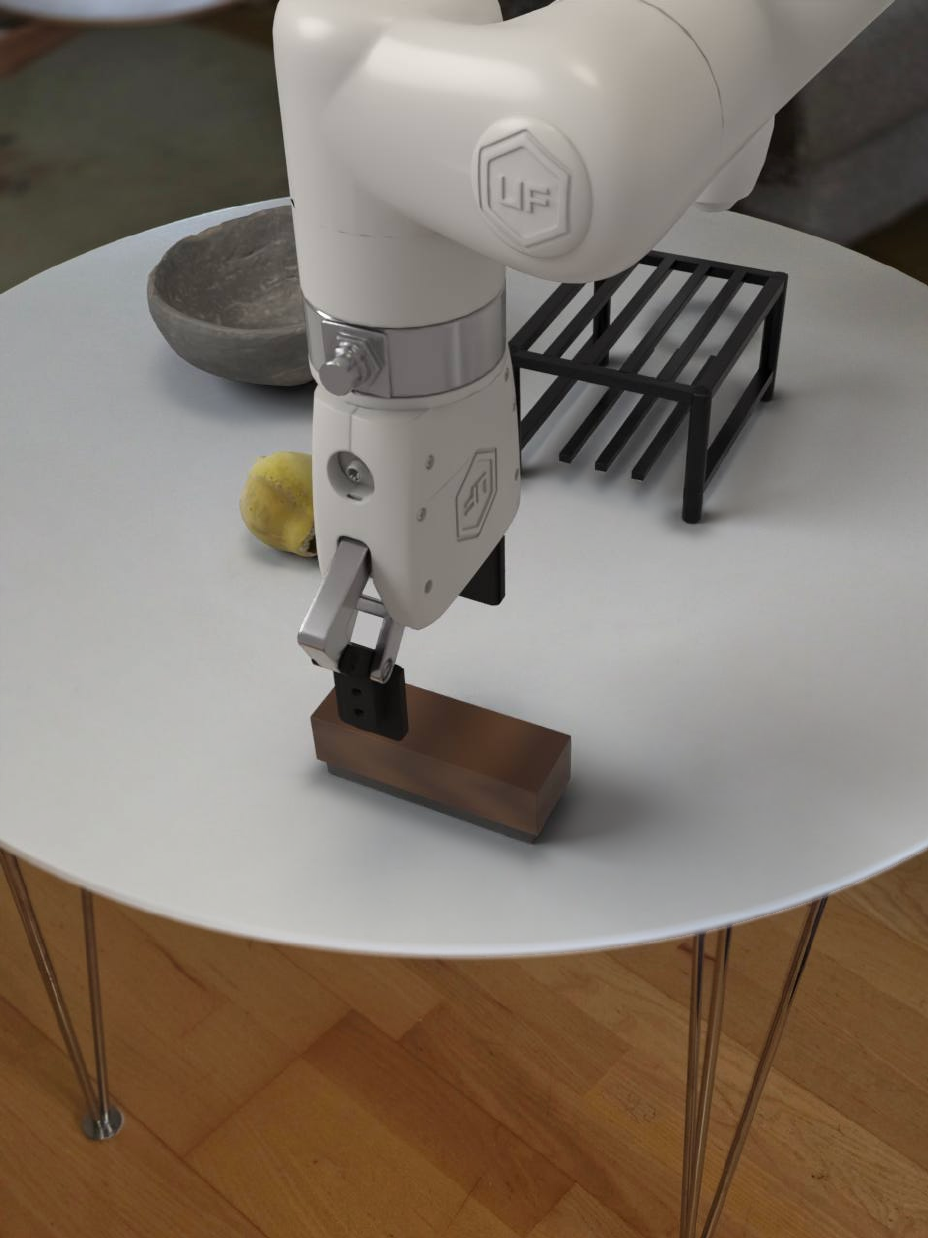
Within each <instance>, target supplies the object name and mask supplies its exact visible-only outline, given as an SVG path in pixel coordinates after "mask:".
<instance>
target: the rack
mask: <svg viewBox="0 0 928 1238" xmlns="http://www.w3.org/2000/svg"><path fill="white" fill-rule="evenodd" d="M639 265H644V266H649V267H655V269H654V270H653V272H652V273H651V274H650V275H649V277H648V278H647V279H646V280H645V281H644V283H643V284H642V285H641V287H639V289H638V290H637V291H636V292H635V294H634V295H633V296H632V298H631V299H630V300H629V301H628V302H627V304H626V305H625V306H624V307H623V308H622V310H621V311H620V312H619V314H618V315H617V316H616V317H615V318H614V320H613V321H611V311H612V297H613V296H614V294H615V293H616V292H617V291H618V290H619V288H620V287H621V286H622V285H623V284H624V282H625V281H626V280H627V279H628V278H629V276H631V274H632V273H633V272H634V271H635V270H636V268H637V267H638V266H639ZM673 271H677V272H682V273H688V274H691V275H690V276H689V277H688V279H687V280H686V281H685V283H684V284H683V285H682V287H680V289H679V290H678V291H677V293H676V294H675V295H674V297H673V298H672V300H671V301H670V302H669V304H668V305H667V306H666V307H665V309H664V310H663V311H662V313H661V314H660V315H659V316H658V318H657V319H656V320H655V321H654V323H653V324H652V325H651V327H650V328H649V330H648V331H647V332H646V333H645V335H644V336H643V338H642V339H641V340H640V341H639V343H638V344H637V345H636V346H635V348H634V349H633V350H632V351H631V353H630V354H629V355H628V357H627V358H626V360H624V362H623V363H622V364H621V366H620V367H619V368H618V369H616V368H610V367H607V365H609V363H610V351H611V350H612V348H613V347H614V346H615V344H617V342H618V341H619V339H621V337H622V335H623V334H624V333H625V332H626V331H627V330H628V329H629V327H630V326H631V324H632V323H633V322H634V320H635V319H636V318H637V317H638V316H639V314H640V313H641V312H642V311H643V309H644V308H645V306H646V305H647V304H648V303H649V302H650V300H651V299H652V298H653V297H654V295H655V294H656V293H657V291H658V290H659V289H660V288H661V286H662V285H663V284H664V283H665V282H666V280H667V279H668V277H669V276H670V275H671V274H672V273H673ZM709 277H711V278H716V279H722V280H727V281H726V282H725V284H724V285H723V286H722V288H721V289H720V291H719V292H718V293H717V294H716V296H715V297H714V299H713V300H712V302H711V303H710V305H708V307H707V309H706V310H705V312H704V313H703V314H702V315H701V316H700V318H699V320H698V321H697V323H696V324H695V325H694V327H693V328H692V330H691V331H690V332H689V333H688V335H687V337H686V338H685V339H684V340H683V342H682V343H681V345H680V346H679V348H678V347H677V348H676V349H675V351H674V352H673V353H672V355H671V357H669V359H668V361H667V362H666V363H665V365H664V366H663V367H662V369H660V371H659V373H658V374H657V375H656V377H654V376H650V375H649V376H648V375H644V374H639V372H640V371H641V369H643V367H644V366H645V364H646V363H647V362H648V360H649V359H650V358H651V356H652V355H653V353H654V352H655V350H656V347H657V346H658V344H659V343H660V342H661V341H662V339H663V338H664V336H665V335H666V334H667V333H668V331H669V330H670V328H671V327H672V326H673V324H674V323H675V322H676V320H677V319H678V318H679V316H680V315H681V314H682V312H683V311H684V310H685V308H686V307H687V306H688V304H689V303H690V302H691V300H692V299H693V298H694V296H695V295H697V292H698V291H699V289H701V287H702V285H704V283H705V282H706V280H707V279H708V278H709ZM788 283H789V273H786V272H784V271H778V270H776V271H774V270H768V269H763V268H757V267H752V266H745V265H740V264H734V263H729V262H723V261H717V260H711V259H707V258H701V257H694V256H689V255H683V254H678V253H677V254H676V253H672V252H667V251H666V252H665V251H660V250H654V249H652V250H651V251H650V252H649V253H648V254H646V255H645V256H644V257H643V258H642V259H640V260H639V261H638V262H637V263H636V264H634V265H633V266H631V267H629V268H628V269H626V270H624V271H622V272H620V273H618V274H616V275H615V276H612V277H609V278H606V279H603V280H598V281H594V282H593V295H592V296H591V297H590V298H589V299H588V300H587V302H586V303H585V304H584V305H583V306H582V307H581V309H580V310H579V311H578V312H577V313H576V315H575V316H574V317H573V318H572V319H571V321H570V322H569V323H568V324H567V325H566V326H565V327H564V328H563V330H562V331H561V332H560V333H559V335H557V337H555V339H554V340H553V341H552V342H551V344H549V346H548V347H547V348H546V349H545V351H544V352H543V353H541V352H535V351H530V348H532V346H534V344H535V343H536V342H537V340H538V339H539V338H540V337H541V336H542V335H543V334H544V333H545V331H546V330H547V329H548V328H549V327H550V325H552V323H554V321H555V320H556V319H557V318H558V317H559V315H560V314H561V313H562V312H563V311H564V310H565V309H566V307H567V306H568V305H569V304H571V302H572V301H573V299H574V298H575V297H576V296H577V295H578V294H579V293H580V292H581V291H582V289H583V288H584V287H585V286H586V285H587V283H560V284H559V285H558V287H557V288H555V290H554V291H553V292H552V293H551V294H550V295H549V297H548V298H547V299H546V300H545V301H544V302H543V303H542V304H541V305H540V306H539V308H538V309H537V310H535V312H534V313H533V314H532V315H531V316H530V318H529V319H527V321H526V322H525V323H524V324H523V325H522V326H521V327H520V329H519V330H518V331H517V332H516V333H515V334H514V335H513V336H512V337H511V338H510V339H509V341H508V346H509V351H510V357H511V362H512V369H513V377H514V384H515V394H516V406H517V419H518V434H519V453H520V477H521V476H522V474H523V472H522V471H523V464H522V457H523V456H522V451H523V450H524V449H525V448H526V446H527V445H528V444H529V442H530V441H532V439H533V437H534V436H535V435H536V434H537V433H538V431H539V430H540V429H541V427H542V426H543V425H544V424H545V423H546V421H547V420H548V419H549V417H550V416H551V415H552V414H553V413H554V412H555V410H556V409H557V408H558V406H559V405H560V403H562V401H563V400H564V399H565V398H566V397H567V395H568V393H570V391H571V390H573V388H574V386H575V385H576V384H577V383H578V381H579V382H584V383H588V384H592V385H597V386H602V387H607V390H606V391H605V392H604V393H603V395H602V396H601V398H600V399H599V400H598V402H597V403H596V404H595V405H594V406H593V408H592V409H591V411H590V412H589V413H588V414H587V416H586V417H585V419H584V420H583V421H582V422H581V424H580V425H579V426H578V428H576V430H575V432H574V433H573V434H572V435H571V437H570V438H569V440H568V441H567V442H566V444H564V446H563V448H562V449H561V450H560V451H559V453H558V462H560V463H564V464H570V465H571V464H572V462H573V461H574V460H575V459H576V457H577V456H578V455H579V453H580V452H581V450H582V449H583V448H584V446H585V445H586V443H587V442H588V441H589V439H590V438H591V437H592V435H593V434H594V433H595V432H596V431H597V430H598V427H599V426H600V425H601V423H602V422H603V421H604V420H605V418H606V417H607V415H608V414H609V412H610V411H611V410H612V408H613V407H614V406H615V405H616V403H617V402H618V401H619V400H620V398H621V397H622V395H623V394H624V393H625V391H626V392H630V393H635V394H640V395H642V396H641V398H639V400H638V402H637V403H636V405H635V406H634V407H633V409H632V410H631V411H630V413H629V414H628V416H627V417H626V419H624V421H623V422H622V423H621V425H620V427H619V428H618V429H617V431H616V432H615V434H614V435H613V436H612V438H611V439H610V440H609V442H608V443H607V444H606V446H605V447H604V449H603V450H602V452H601V453H600V455H599V456H598V457H597V458H596V460H595V461H594V470H595V471H599V472H603V473H607V472H608V470H609V469H610V468H611V466H612V465H613V464H614V462H615V461H616V459H617V458H618V457H619V455H620V454H621V452H622V451H623V450H624V448H625V447H626V446H627V444H628V442H629V441H630V439H631V438H632V437H633V435H635V432H636V431H637V430H638V428H640V426H641V424H642V423H643V421H644V420H645V418H646V417H647V416H648V414H649V413H650V411H651V410H652V408H653V407H654V406H655V404H656V403H657V401H658V400H659V399H662V400H667V401H673V402H677V403H676V405H675V406H674V408H673V410H672V411H671V413H670V414H669V415H668V417H667V418H666V420H665V421H664V422H663V425H662V426H661V427H660V429H659V430H658V431H657V433H656V434H655V435H654V437H653V439H652V440H651V441H650V443H649V445H648V446H647V448H646V449H645V450H644V452H643V453H642V455H641V456H640V458H639V459H638V460H637V462H636V463H635V464H634V466H633V468H632V469H631V473H630V474H631V475H630V479H632V480H636V481H638V482H639V481H640V482H644V481H645V479H646V477H648V475H649V473H650V471H651V470H652V468H653V467H654V466H655V464H656V463H657V461H658V460H659V458H660V456H662V454H663V452H664V451H665V449H666V448H667V446H668V445H669V443H670V442H671V441H672V439H673V437H674V436H675V434H676V433H677V431H678V430H679V428H680V427H681V425H682V424H683V423H684V421H685V419H686V417H688V414H689V417H688V429H687V440H686V453H685V465H684V466H685V467H684V480H683V489H682V490H683V492H682V502H681V503H682V504H681V519H682V521H683V522H685V523H687V524H696V523H699V522H700V521H701V520H702V516H703V505H704V504H703V503H704V494H705V492H706V491H707V489H708V487H709V486H710V484H711V482H712V481H713V479H714V478H715V476H716V474H717V473H718V471H719V469H720V467H721V466H722V464H723V463H724V461H725V459H726V458H727V456H728V454H729V453H730V451H731V450H732V447H733V446H734V444H735V443H736V441H737V440H738V438H739V436H740V435H741V432H742V431H743V429H744V428H745V426H746V425H747V424H748V422H749V419H750V418H751V417H752V414H753V413H754V411H755V410H756V407H757V406H758V404H759V403H760V401H762V402H769V401H771V400H773V399H774V395H775V387H776V380H777V372H778V371H777V370H778V363H779V356H780V346H781V340H782V331H783V323H784V314H785V308H786V300H787V299H786V298H787V291H788ZM744 284H749V285H755V286H761V289H760V291H758V294H757V295H756V296H755V298H754V300H753V301H752V303H751V304H750V306H749V307H748V309H746V311H745V313H744V314H743V315H742V317H741V319H740V320H739V322H738V323H737V325H735V328H734V329H733V330H732V332H731V334H730V335H729V336H728V338H727V340H725V342H724V344H723V345H722V347H721V348H720V350H719V351H718V352H717V354H716V355H714V354H710V355H709V357H708V358H707V360H706V361H705V363H704V364H703V365H702V367H701V369H699V371H698V373H697V374H696V376H695V377H694V379H693V381H691V383H690V384H687V383H682V382H677V380H678V378H679V377H680V375H681V374H682V373H683V371H684V369H686V367H687V365H688V364H689V363H690V361H691V360H692V358H693V357H694V356H695V354H696V352H697V351H698V350H699V348H700V346H701V345H702V344H703V342H704V341H705V340H706V338H707V337H708V335H709V334H710V333H711V331H712V330H713V328H714V327H715V326H716V324H717V322H718V321H719V319H720V318H721V317H722V315H723V314H724V313H725V311H726V310H727V308H728V307H729V305H730V304H731V303H732V301H733V299H734V298H735V297H736V295H737V294H738V293H739V291H740V290H741V288H742V287H743V285H744ZM590 323H592V334H591V336H590V337H589V338H588V339H587V341H585V343H584V344H582V347H580V349H579V350H578V351H577V352H576V354H575V355H574V356H573V358H572V359H568V358H564V357H563V355H564V354H565V353H566V352H567V351H568V349H569V348H570V347H571V346H572V345H573V344H574V342H575V341H576V340H577V338H578V337H579V336H580V335H581V334H582V333H583V331H584V330H585V329H586V328H587V326H588V325H589V324H590ZM762 324H763V326H762V333H761V334H762V335H761V344H760V353H759V361H758V369H757V371H756V372H755V373H754V375H753V376H752V378H751V380H750V382H749V383H748V385H747V386H746V388H745V389H744V391H743V393H742V394H741V396H740V398H739V399H738V400H737V402H736V404H735V406H734V407H733V409H732V410H731V411H730V413H729V415H728V417H727V418H726V420H725V421H724V423H723V425H722V426H721V428H720V429H719V431H718V432H717V434H716V436H715V438H714V439H713V441H712V442H711V444H710V445H709V437H710V436H709V435H710V427H711V415H712V405H713V404H712V403H713V399H714V397H715V396H716V394H717V392H718V390H720V388H721V386H722V385H723V383H724V382H725V380H726V379H727V377H728V376H729V374H730V373H731V371H732V369H734V367H735V365H736V364H737V362H738V360H739V359H740V357H741V356H742V354H743V352H744V351H745V350H746V348H747V347H748V345H749V344H750V342H751V340H752V339H753V337H754V336H755V334H756V333H757V331H758V330H759V328H760V327H761V325H762ZM521 369H523V370H529V371H533V372H538V373H542V374H547V375H552V376H557V377H556V378H555V379H554V380H553V382H552V383H551V384H550V385H549V386H548V388H547V389H546V390H545V391H544V392H543V394H542V395H541V396H540V397H539V398H538V400H537V401H536V402H535V403H534V405H532V407H531V408H530V409H529V411H528V412H527V413H526V414H525V416H524V417H523V418H522V406H521V405H522V403H521V401H522V399H521V398H522V397H521Z"/></svg>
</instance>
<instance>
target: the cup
mask: <svg viewBox="0 0 928 1238" xmlns="http://www.w3.org/2000/svg"><path fill="white" fill-rule="evenodd" d="M775 116H776V114H775V115H774V116H773V117H772V118H771V119H770V120H769V121H768V122H767V123H766V124H765V125H764V126H763V128H762V129H761V130H760V131H759V132H758V133H757V134H756V135H755V136H754V137H753V138H752V139H751V140H750V141H749V142H748V143H747V144H746V146H745V147H744V148H743V149H742V150H741V151H740V152H739V153H738V154H737V155H736V156H735V157H734V158H733V159H732V160H731V161H730V162H729V163H728V164H727V165H726V166H725V167H724V168H723V170H722V171H721V172H720V173H719V174H718V175H717V176H716V177H715V178H714V180H713V181H712V182H711V183H710V184H709V185H708V186H707V187H706V188H705V189H704V191H703V193H702V194H701V195H700V196H699V197H698V199H697V200H696V201H695V202H694V203H693V204H692V205H691V207H693V208H694V209H695V210H698V211H700V212H704V213H722V212H726V211H728V210H730V209H731V208H732V207H733V206H734V205H735V204H736V203H737V202H738V201H741V200H742V199H746V198H747V197H749V196H750V194H751V193H752V192H753V190H754V188H755V186H756V183H757V181H758V179H759V177H760V175H761V174H760V173H761V171H762V169H763V168H764V165H765V163H766V158H767V154H768V150H769V147H770V143H771V139H772V136H773V131H774V128H775V120H776V119H775Z"/></svg>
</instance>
